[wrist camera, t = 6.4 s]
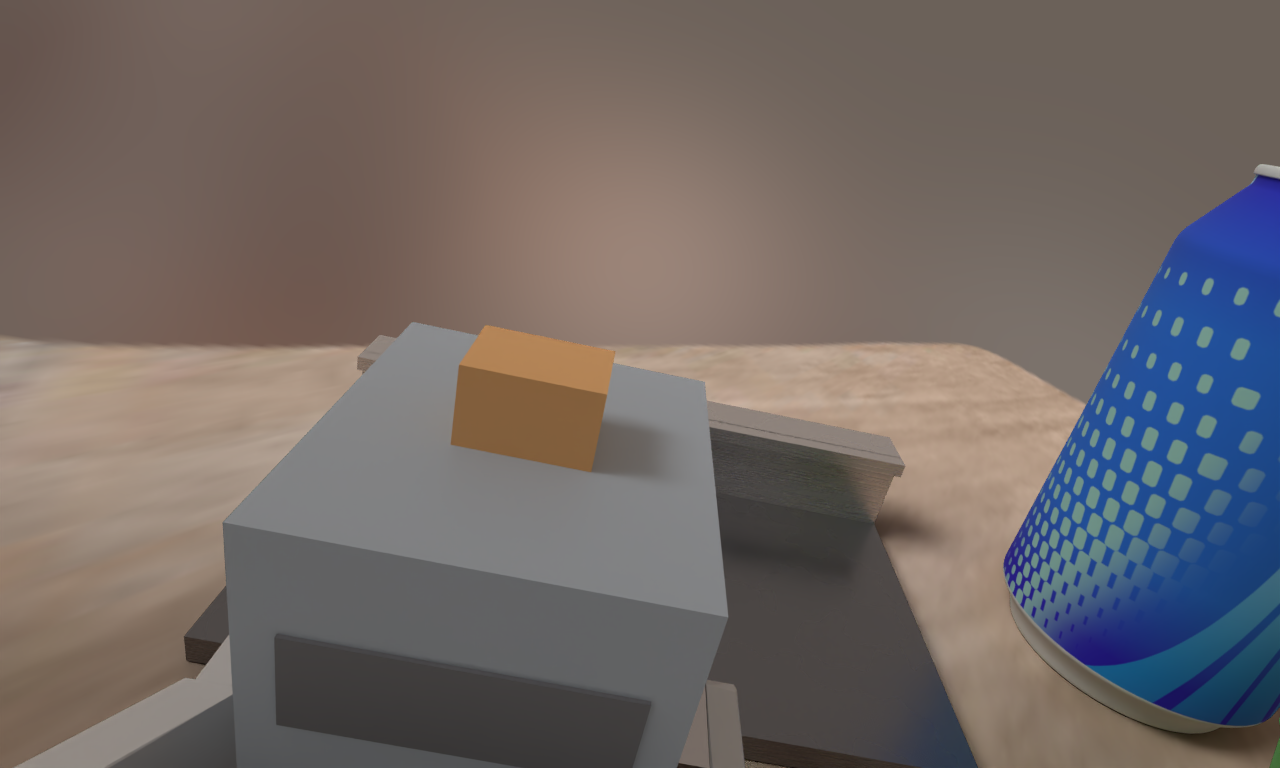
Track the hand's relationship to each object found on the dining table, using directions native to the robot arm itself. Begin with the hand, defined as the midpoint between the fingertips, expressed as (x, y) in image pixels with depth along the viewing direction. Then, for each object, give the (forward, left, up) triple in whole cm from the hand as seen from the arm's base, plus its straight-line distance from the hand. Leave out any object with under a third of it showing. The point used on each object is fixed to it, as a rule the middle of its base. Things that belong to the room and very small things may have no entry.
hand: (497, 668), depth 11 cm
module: (0, -1, -6) cm, 6 cm away
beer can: (+20, +11, -6) cm, 24 cm away
